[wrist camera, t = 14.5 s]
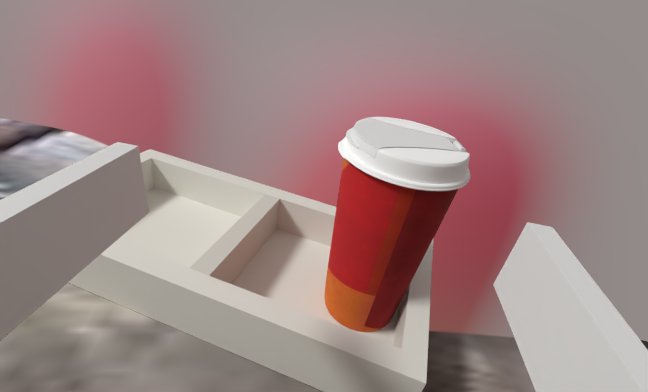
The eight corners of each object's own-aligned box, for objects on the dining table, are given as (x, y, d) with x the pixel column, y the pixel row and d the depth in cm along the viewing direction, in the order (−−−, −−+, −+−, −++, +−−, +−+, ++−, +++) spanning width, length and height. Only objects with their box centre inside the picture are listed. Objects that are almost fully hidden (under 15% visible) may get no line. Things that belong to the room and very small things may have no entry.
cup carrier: (418, 274, 32) (433, 237, 29) (402, 425, 20) (426, 383, 17) (154, 185, 37) (149, 149, 35) (20, 262, 25) (0, 214, 23)
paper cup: (397, 273, 30) (452, 124, 22) (416, 351, 23) (504, 177, 16) (311, 262, 29) (340, 106, 22) (305, 339, 22) (345, 152, 15)
